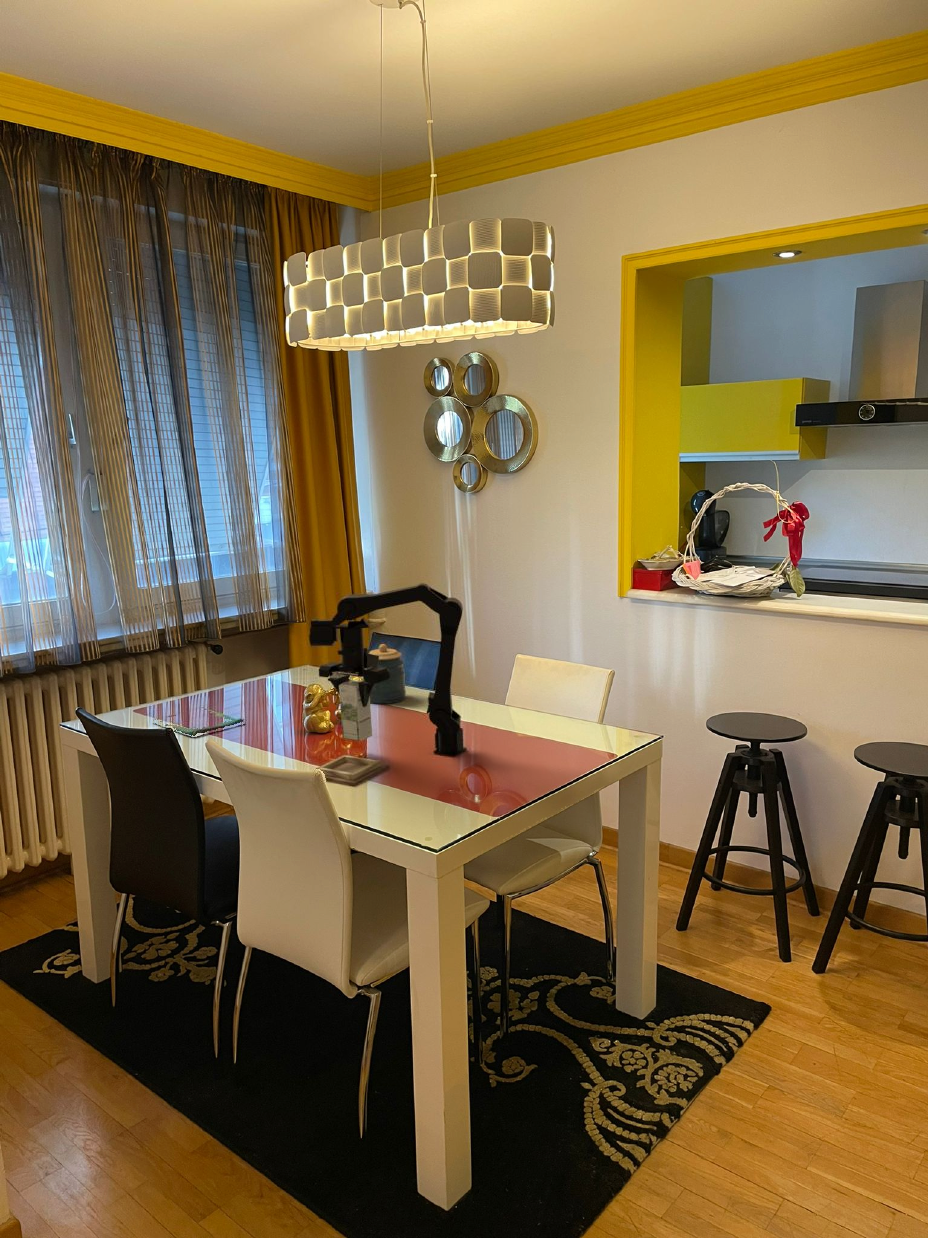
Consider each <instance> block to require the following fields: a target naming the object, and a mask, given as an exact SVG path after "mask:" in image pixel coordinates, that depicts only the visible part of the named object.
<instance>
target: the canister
mask: <svg viewBox="0 0 928 1238" xmlns="http://www.w3.org/2000/svg"><path fill="white" fill-rule="evenodd" d="M368 654H373V655H377V656H379V661H378V667H382V668H387V669H388V670H389V672H390V679H387V680H385V681H382V682H380V683H375V685H374V686H373V688H372V691H371V694H370V704H377V705H378V704H379V705H380V704H381V705H387V704H393V703H398V702H402V701H404V700H406V695H407V692H406V691H407V689H406V681H405V679H406V678H405V673H406V671H405V670H404V664H405V660H404V659H402V658H401V657H402V656H403V655H402V653H401V652H399V651H398V650H397V649H393V648H388V646H387V644H384V643H382V644H380V645H379V646H378V648H377V649H372V650H370V651H368ZM371 668H374V667H370V668H365V670H368V669H371Z"/></svg>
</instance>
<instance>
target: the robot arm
mask: <svg viewBox="0 0 928 1238" xmlns="http://www.w3.org/2000/svg"><path fill="white" fill-rule="evenodd" d="M415 602H421V603H422V604H424V605H426V606H427V607H428V608H429V609H431V610H432V612H435V613H437V614H438V617H439V628H440V629H439V630H440V646H439V657H438V667H437V677H436V685H435V686H436V687H435V690H434V692H431V691H429V693H428V697H427V701H428V702H427V703H428V705H427V709H426V714H428V718H429V721H430V722H431V723H432V725H434V726H436V728H435V733H434V746H435V747H434V748H435V750H433V754H436V755H442V756H447V757H457V756H458V755H460V754H462V753H464V752H465V751H467V750H468V748H467V747H465V746H464V728H462V727H461V719H462V716H461V714H460V713H458V712H457V711H455V710H454V708H453V698H452V689H451V687H452V685H451V684H452V677H453V668H454V667H453V665H454V657H455V656H454V655H455V647H456V638H457V637H456V636H457V634H458V630H459V628H460V623H461V620H462V616H463V610H464V607H463V604H462V602H461V601H460V600H459V599H458V598H456V597H452V596H451V597H448V596H447V595H445V594H444V593H441V592H440V591H438V590H436V589H434V588H432V587H430V585H428V584H427V583H424V582H423V583H419V584H417V585H412V586H407V587H403V588H398V589H393V590H388V591H384V592H378V593H374V594H373V593H369V594H368V593H367V594H366V593H355V594H354V593H353V594H352V593H351V594H347V595H345V596H344V597H343V598H341V600H340V601H339V602H338V604H337V607H336V609H337V612H336V614H334V615H333V617H332V619H320V618H319V619H318V618H316V619H315V618H313V619H311V621H310V626H309V627H310V628H309V634H308V639H309V644H310V647H331V646H332V647H334V646H335V643H338V642H339V641H340V649H339V650H337V655H340V657H341V662H335V661H330V662H328V663H324V664H321V665H320V666H319V668H318V677H319V678H327V681H328V682H330V683H331V685H332V686H333V688H334V689H335V691H336V692H337V695H339V697H340V694H339V685H340V684H342V683H344V682H346V681H350V677H358V678H362V680H361V681H362V682H359V683H358V686H359V691H360V696H361V701H362V705H363V707H366V706H367V704H368V700H369V697H370V694H371V691H372V688H373V686H374V685H375V683H380V682H382V681H385V680H387V679H390V672H389V670H388V669H387V668H382V667H378V661H379V656H377V655H373V654H368V653H369V649H368V648H367V647H365V646H364V629H369V628H370V626H371V622H369V621H368V620H367V619H366V618H365V617H364V616H366V615H368V614H371V612H375V611H377V610H383V609H388V608H392V607H397V606H401V605H406V604H412V603H415ZM361 617H362V618H361ZM358 618H359V619H360V618H361V619H360V620H356V619H358ZM345 621H346V622H347V621H348V622H347V623H346V624H345V623H344V622H345ZM342 623H343V624H342ZM339 638H340V640H339ZM370 667H374V668H371V669H368V670H365V668H370Z"/></svg>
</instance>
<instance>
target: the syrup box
mask: <svg viewBox="0 0 928 1238" xmlns="http://www.w3.org/2000/svg"><path fill="white" fill-rule="evenodd" d="M362 681H363V680H353V679H351V680H350V679H349V680H348V681H346V682H344V683H342V684H340V685H339V694H340V696H339V704H340V707H339V708H340V720H341V732H342V733H341V735H342V739H343V740H348V741H349V740H350V741H354V742H362V741H364V740H367V739H369V738H371V737H372V736H373V727H372V726H373V725H372V712H371V711H372V710H371V703H370V697H369V700H368V704H367V706H366V707H363V705H362V701H361V696H360V691H359V686H358V683H359V682H362ZM339 694H338V695H339Z"/></svg>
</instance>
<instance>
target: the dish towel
mask: <svg viewBox="0 0 928 1238" xmlns="http://www.w3.org/2000/svg"><path fill="white" fill-rule="evenodd" d="M202 708H204V709H205V710H209V711H211V712H210V713H215V714H216V715H215V716H218V717H225V718H224V719H229V720H230V719H231V720H232V721H228V722H226V721H225V722H224V723H220V724H216V725H217V726H213V727H207V728H206V727H203V728H202V729H198V728H197V729H187V728H184V727H181V726H177V725H171V724H170V725H168V724H166V725H165V726H173V728H174V729H175V728H176V730H177V731H181V732H182V733H185V734H189V735H191V736H192V735H193V736H195V735H196V734H197V733H205V732H207V731H211V730H216V729H218V728H224V727H225V726H230V725H234V724H237V723H240V722H243V723H245V722H244V721H245V719H244V718H235V717H232V716H230V715H227V714H223V713H222V712H217V711H213V710H211V709H208V708H206V707H202ZM184 712H185V713H186V712H187V711H184ZM184 712H182V713H184ZM170 716H171V717H172V716H176V715H175V714H171V715H168V716H166V717H170ZM231 717H232V718H231ZM161 718H162V717H160V718H154V720H156V719H157V720H158V719H161ZM160 722H163V721H160ZM194 728H195V727H194ZM176 730H175V731H176Z"/></svg>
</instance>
